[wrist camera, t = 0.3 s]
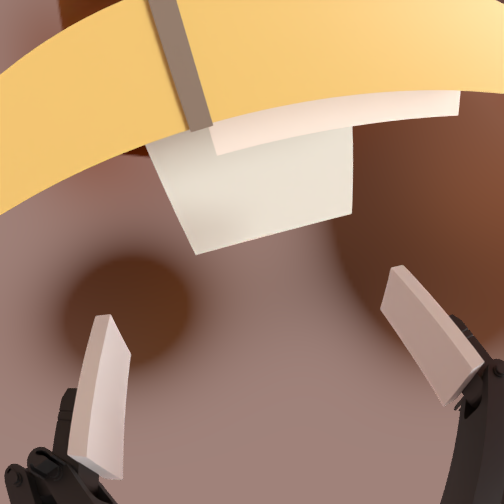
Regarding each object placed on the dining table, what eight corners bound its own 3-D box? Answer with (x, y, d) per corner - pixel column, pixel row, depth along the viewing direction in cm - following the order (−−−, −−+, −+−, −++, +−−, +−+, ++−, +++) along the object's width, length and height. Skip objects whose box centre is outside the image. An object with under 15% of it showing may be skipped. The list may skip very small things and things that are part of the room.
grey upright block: (192, 137, 37) (195, 254, 22) (170, 69, 29) (140, 133, 14) (279, 114, 36) (351, 213, 21) (266, 45, 29) (350, 83, 14)
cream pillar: (200, 64, 30) (213, 161, 11) (181, -2, 23) (145, -61, 4) (299, 44, 29) (459, 118, 11) (286, -21, 23) (454, -52, 4)
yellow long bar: (0, 191, 9) (-30, 237, 7) (-38, 122, 6) (-80, 159, 4) (485, 74, 9) (529, 98, 7) (484, 3, 6) (533, 18, 4)
